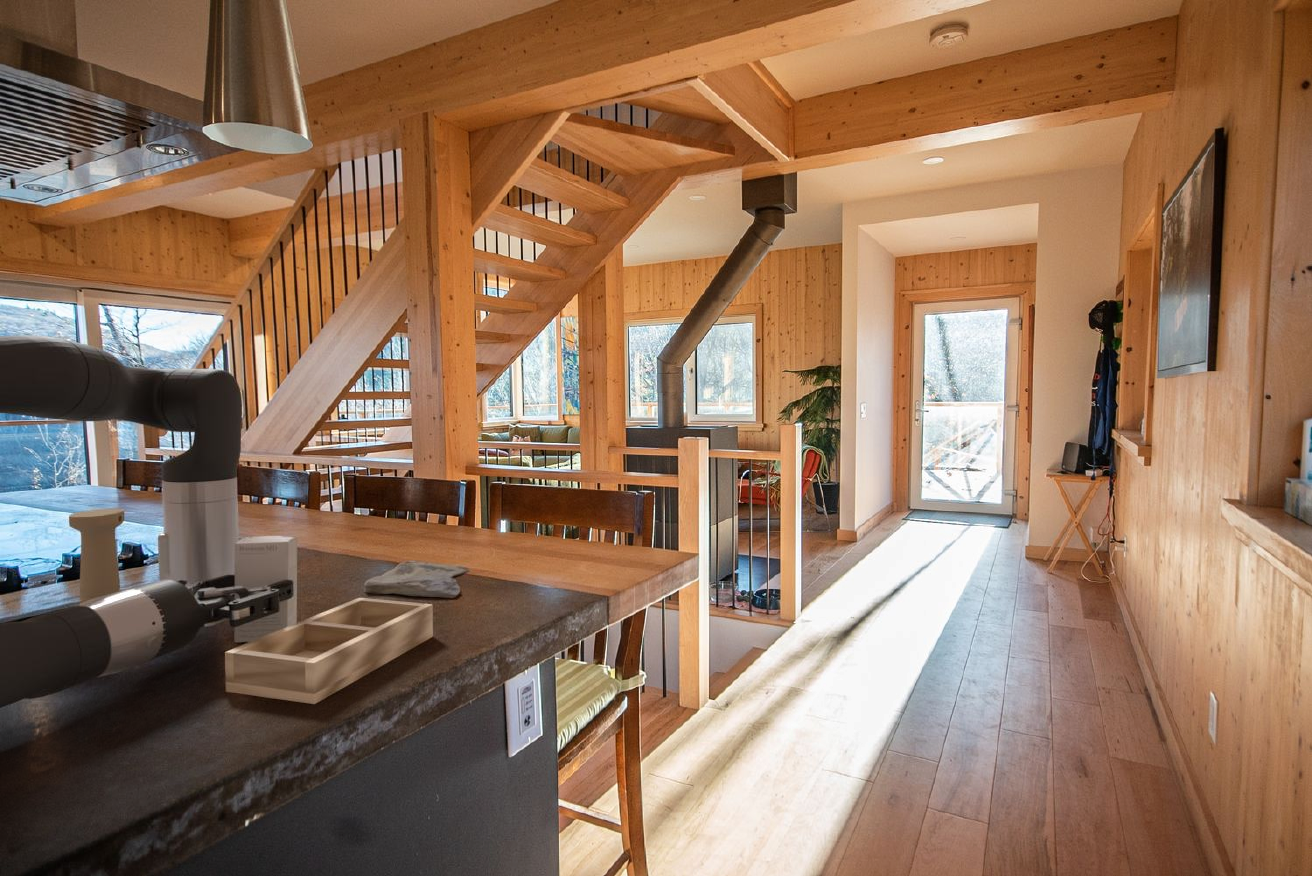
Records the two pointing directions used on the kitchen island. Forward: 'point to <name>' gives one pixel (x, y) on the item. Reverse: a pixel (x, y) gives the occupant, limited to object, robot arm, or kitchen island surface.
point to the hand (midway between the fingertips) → (261, 585)
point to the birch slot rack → (327, 650)
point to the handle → (98, 551)
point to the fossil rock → (418, 580)
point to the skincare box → (266, 579)
